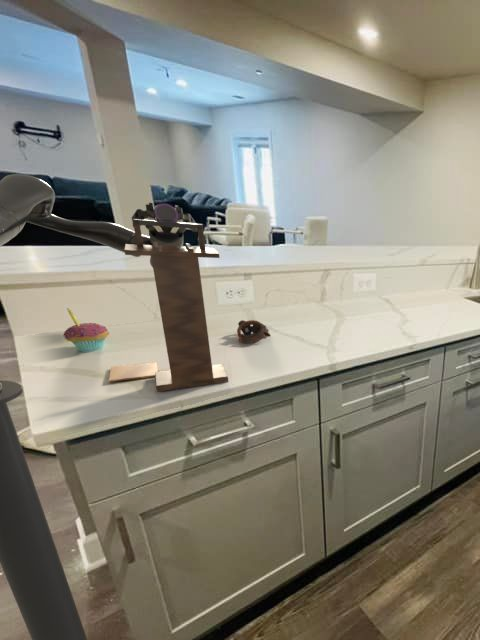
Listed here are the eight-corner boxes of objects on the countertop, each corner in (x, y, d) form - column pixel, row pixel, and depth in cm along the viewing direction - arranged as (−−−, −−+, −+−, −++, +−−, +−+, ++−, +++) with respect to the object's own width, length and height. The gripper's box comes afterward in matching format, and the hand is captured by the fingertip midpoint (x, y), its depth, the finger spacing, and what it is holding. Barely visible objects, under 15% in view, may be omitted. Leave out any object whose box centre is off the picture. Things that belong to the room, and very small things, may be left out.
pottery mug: (280, 341, 128) (272, 325, 121) (256, 360, 123) (247, 344, 116) (254, 324, 130) (245, 308, 124) (230, 342, 125) (219, 326, 118)
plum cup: (154, 221, 98) (152, 202, 97) (176, 222, 101) (174, 205, 100) (155, 222, 89) (152, 202, 88) (179, 224, 92) (176, 204, 91)
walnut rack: (151, 392, 88) (118, 220, 75) (150, 377, 94) (120, 216, 81) (232, 381, 98) (216, 227, 85) (227, 368, 104) (211, 223, 91)
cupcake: (73, 357, 99) (58, 313, 95) (65, 347, 104) (51, 304, 99) (116, 349, 106) (104, 308, 101) (108, 340, 110) (96, 300, 106)
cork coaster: (109, 382, 90) (108, 380, 90) (111, 368, 96) (110, 366, 96) (158, 376, 96) (158, 374, 95) (157, 363, 102) (157, 362, 102)
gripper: (199, 250, 112) (202, 224, 99) (135, 247, 103) (127, 218, 90) (195, 226, 113) (197, 197, 99) (130, 221, 104) (123, 188, 90)
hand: (164, 207), depth 95 cm, fingers closed on plum cup, 4 cm apart
